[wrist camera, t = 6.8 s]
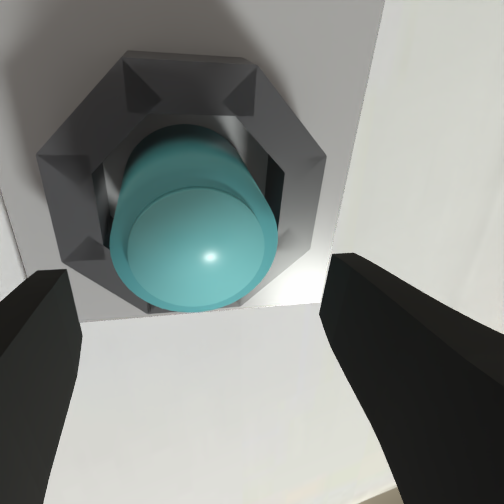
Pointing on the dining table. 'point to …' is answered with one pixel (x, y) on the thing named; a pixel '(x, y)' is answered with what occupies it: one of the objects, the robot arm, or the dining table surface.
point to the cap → (190, 222)
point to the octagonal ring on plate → (178, 112)
